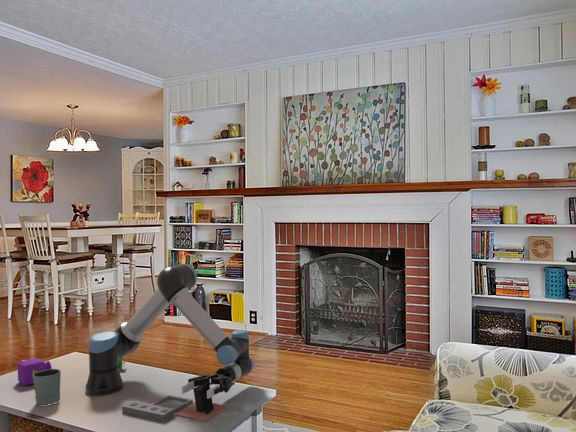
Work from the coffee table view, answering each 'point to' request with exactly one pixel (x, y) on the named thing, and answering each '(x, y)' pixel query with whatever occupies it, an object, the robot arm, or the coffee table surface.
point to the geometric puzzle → (120, 363)
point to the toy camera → (31, 369)
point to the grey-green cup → (47, 386)
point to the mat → (194, 414)
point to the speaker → (203, 398)
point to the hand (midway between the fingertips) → (194, 392)
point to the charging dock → (154, 408)
